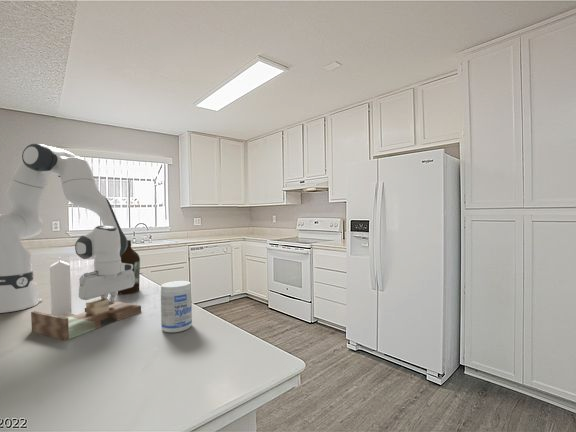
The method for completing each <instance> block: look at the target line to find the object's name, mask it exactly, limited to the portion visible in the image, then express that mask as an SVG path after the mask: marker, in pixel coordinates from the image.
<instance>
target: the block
mask: <svg viewBox="0 0 576 432" xmlns="http://www.w3.org/2000/svg"><path fill="white" fill-rule="evenodd" d="M107 299H108V298H107ZM107 299H102V298H101V297H100V298H99V297H98V298H96V299H91V300H88V301H86V302H85V308H86V313H87V314H93V315H97V314H100V313H103V312H106V311H109V299H108V300H107Z"/></svg>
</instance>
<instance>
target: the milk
mask: <svg viewBox="0 0 576 432" xmlns="http://www.w3.org/2000/svg"><path fill="white" fill-rule="evenodd" d="M58 259H59V260H57V261H56V262H54V263H52V264H50V266H49V281H50V309H51V315H56V316H60V315H64V314H67V313H69V314H73V313H72V291H71V288H72V287H71V267H70V266H71V265H70V263H69V262H66V261H64V260H61V257H59V258H58Z"/></svg>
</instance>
